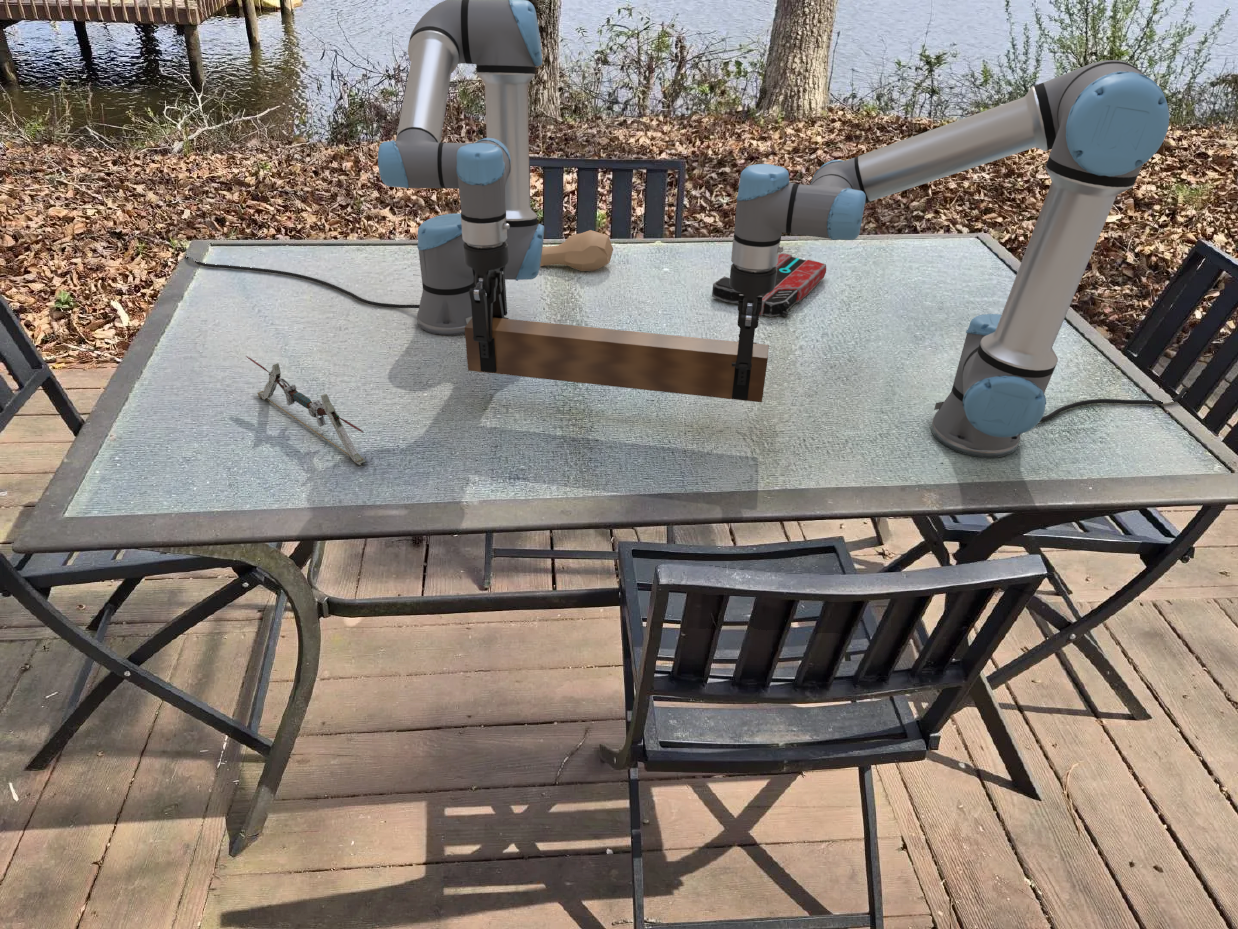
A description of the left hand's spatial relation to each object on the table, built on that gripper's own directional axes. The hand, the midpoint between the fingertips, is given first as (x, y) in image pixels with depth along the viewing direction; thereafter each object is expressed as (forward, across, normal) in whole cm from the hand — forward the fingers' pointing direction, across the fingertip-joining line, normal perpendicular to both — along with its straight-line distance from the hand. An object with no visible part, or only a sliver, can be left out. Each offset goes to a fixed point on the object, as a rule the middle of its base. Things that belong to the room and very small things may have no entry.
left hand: (493, 363), depth 161 cm
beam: (+1, 0, -23) cm, 23 cm away
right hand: (0, 0, -45) cm, 45 cm away
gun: (+9, +69, -50) cm, 85 cm away
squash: (+9, +73, +1) cm, 74 cm away
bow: (+9, -15, +30) cm, 35 cm away
